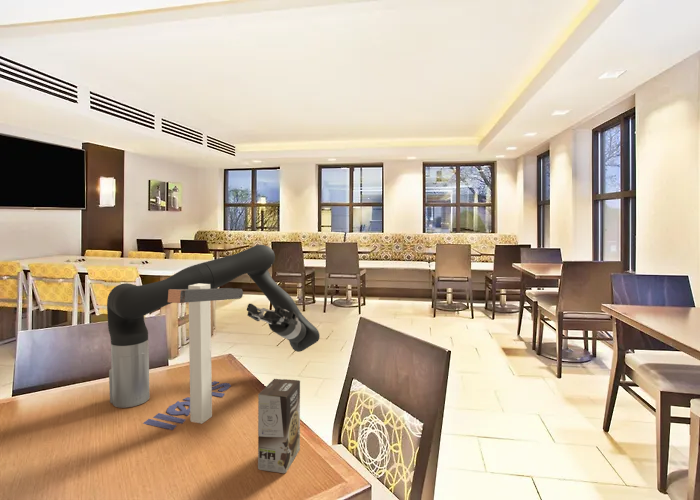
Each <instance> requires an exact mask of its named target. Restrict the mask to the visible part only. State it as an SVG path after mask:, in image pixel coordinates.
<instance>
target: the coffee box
mask: <svg viewBox="0 0 700 500" xmlns="http://www.w3.org/2000/svg"><path fill="white" fill-rule="evenodd" d="M257 397H258V400H257V401H258V402H257V403H258V406H257V407H258V410H257V414H258V415H257V419H258V421H257V424H258V425H257V427H258V428H257V431H258V432H257V434H258V436H257V443H258V444H257V469H258V470H260V471H265V472H266V471H267V472H272V473H273V472H274V473H280V474H286V473H287V472H288V471H289V468H290V467H291V465H292V463H293V462H294V460H295V459H296V457H297V455H298V453H299V451H300V450H301V380H298V379H285V378H283V379H281V378H273V379H272V380H271V381H270V382H269V383H268V384H267V385H266V386H265V387H264V388H263V389H262V390H261V391H260V392H258V396H257Z"/></svg>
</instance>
